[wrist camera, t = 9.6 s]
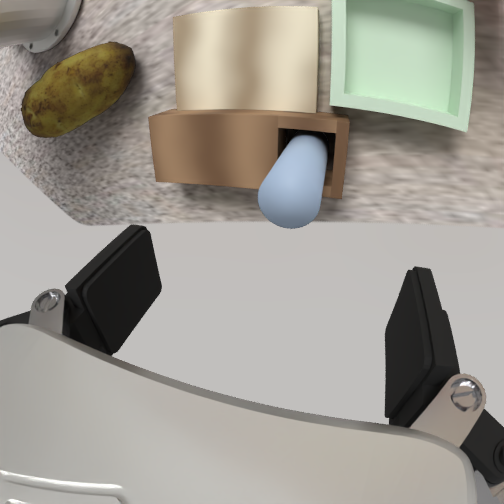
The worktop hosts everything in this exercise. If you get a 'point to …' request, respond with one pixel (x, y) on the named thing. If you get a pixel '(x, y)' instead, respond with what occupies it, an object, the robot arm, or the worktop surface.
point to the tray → (404, 58)
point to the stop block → (237, 145)
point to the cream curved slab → (247, 59)
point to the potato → (77, 89)
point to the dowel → (296, 181)
